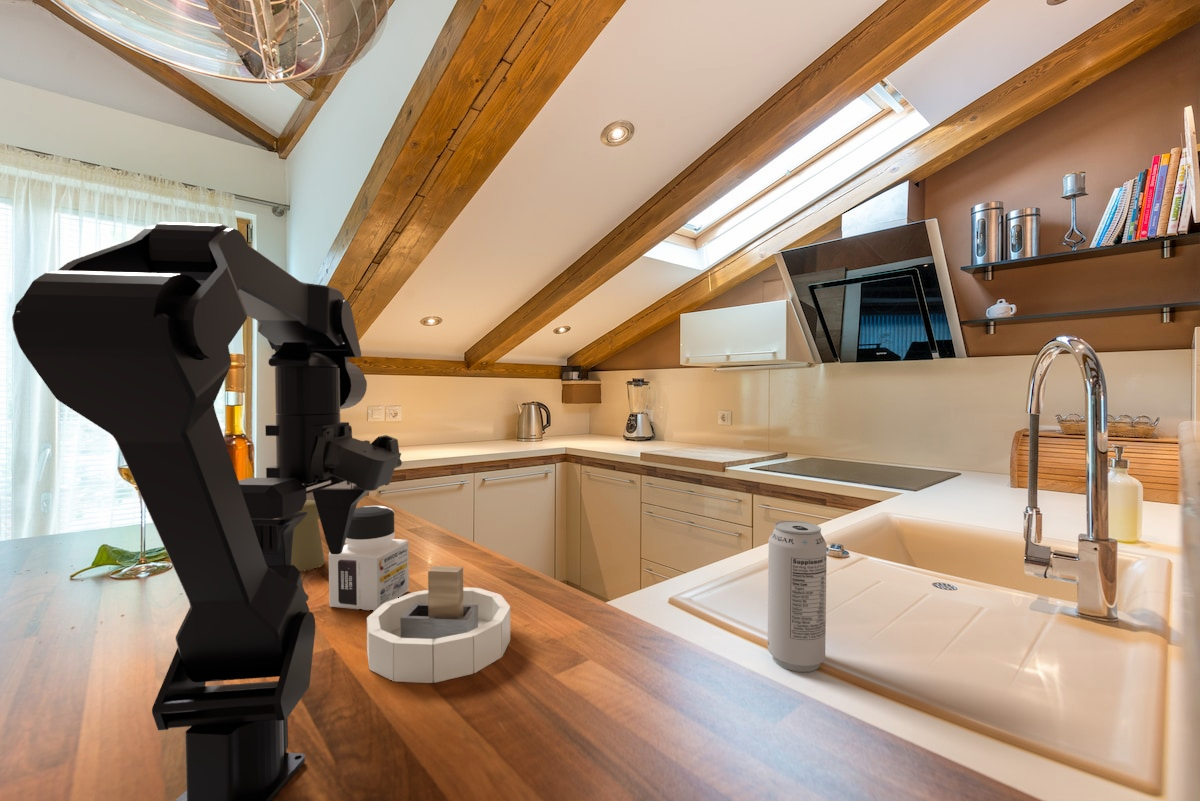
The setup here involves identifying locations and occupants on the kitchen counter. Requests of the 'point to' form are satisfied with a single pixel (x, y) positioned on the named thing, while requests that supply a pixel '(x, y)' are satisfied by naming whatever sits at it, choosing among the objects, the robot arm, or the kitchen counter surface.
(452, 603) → the wooden block
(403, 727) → the kitchen counter surface
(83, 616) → the kitchen counter surface
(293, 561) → the cork
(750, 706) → the kitchen counter surface
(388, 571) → the container
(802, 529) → the energy drink can
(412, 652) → the white faceted bowl
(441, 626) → the open rectangular box
